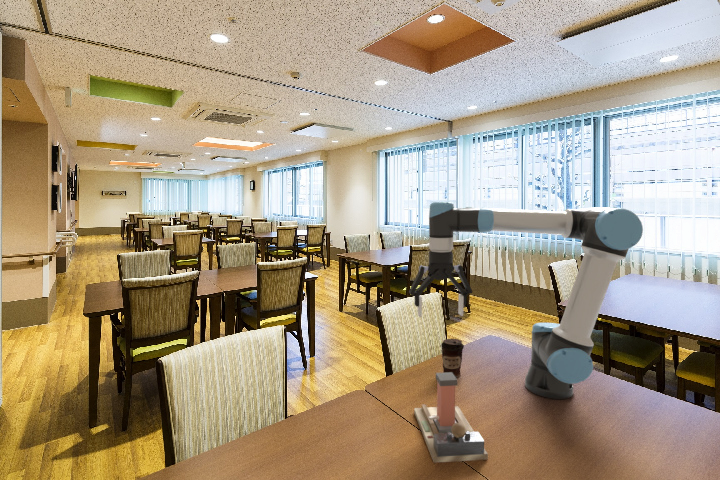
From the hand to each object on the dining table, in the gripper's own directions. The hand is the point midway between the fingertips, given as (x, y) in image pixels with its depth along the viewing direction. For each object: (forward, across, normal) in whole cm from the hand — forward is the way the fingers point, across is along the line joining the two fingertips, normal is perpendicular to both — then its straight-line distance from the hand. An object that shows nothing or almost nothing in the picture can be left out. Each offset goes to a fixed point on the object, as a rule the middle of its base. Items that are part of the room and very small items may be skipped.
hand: (440, 315), depth 123 cm
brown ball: (+24, +3, +28) cm, 37 cm away
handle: (+27, +4, +17) cm, 32 cm away
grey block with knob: (+27, +3, +28) cm, 39 cm away
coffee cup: (+29, -10, -18) cm, 35 cm away
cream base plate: (+29, +3, +18) cm, 34 cm away
